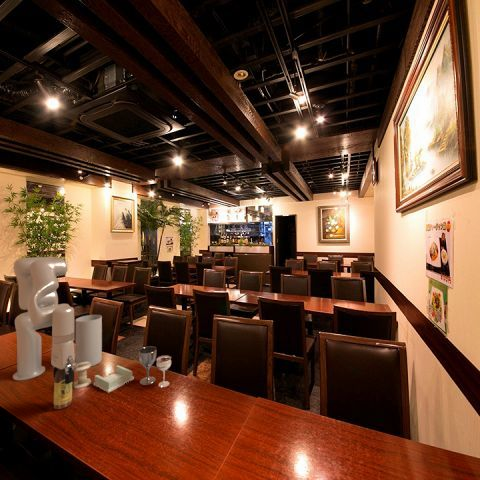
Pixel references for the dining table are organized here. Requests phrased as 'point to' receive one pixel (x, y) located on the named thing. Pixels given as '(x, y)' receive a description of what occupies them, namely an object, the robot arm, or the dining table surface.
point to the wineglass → (163, 368)
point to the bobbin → (82, 375)
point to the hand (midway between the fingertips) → (63, 379)
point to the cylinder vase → (89, 339)
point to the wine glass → (147, 362)
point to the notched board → (114, 379)
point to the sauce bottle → (62, 390)
